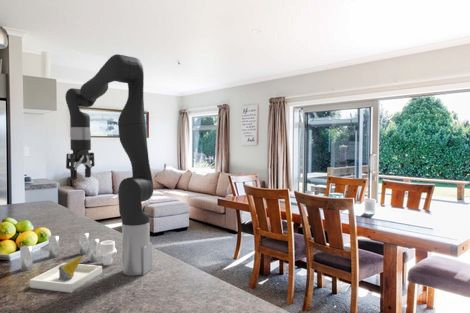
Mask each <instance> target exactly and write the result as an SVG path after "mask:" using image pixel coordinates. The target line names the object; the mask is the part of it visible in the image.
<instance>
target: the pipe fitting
mask: <svg viewBox="0 0 470 313" xmlns="http://www.w3.org/2000/svg"><path fill="white" fill-rule="evenodd" d="M115 246H116V242H115V241H114V240H112V239H111V240H103V241H101V242H99V251H98V256H99V257H102V264H103V266H108V265H109V266H111V265H112V264H113V256H114V255H117V254H118V253H117V252H118V251H117V248H116V247H115Z"/></svg>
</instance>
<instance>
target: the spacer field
mask: <svg viewBox="0 0 470 313" xmlns="http://www.w3.org/2000/svg"><path fill="white" fill-rule="evenodd" d="M89 233H90V232H81V233H79V234H78V248H79V249H78V252H79V255H80V256H84V255H88V256H89V257H88V258H89V259H88V261H89V262H90V263H95V262H96V263H97V262H98V261H100V259H101V258H100V257H101V256H98V251H99V250H100V238H98V237H96V238H93V237H92V238H90V237H89V236H90V234H89ZM19 251H20V253H19V254H20V256H19V257H20V271H21V272H27V271H31V270H33V268H34V267H33V266H34V265H33V263H34V262H33V259H34V258H33V245H31V244H30V245H29V244H28V245H21V246H20V248H19ZM59 257H60V235H58V234H57V235H50V236H48V258H49V259H56V258H59Z"/></svg>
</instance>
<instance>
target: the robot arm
mask: <svg viewBox="0 0 470 313" xmlns="http://www.w3.org/2000/svg"><path fill="white" fill-rule="evenodd" d="M144 78H145V76H144V67H143V63H142V61H141V60H140V59H139V58H137V57H134V56H130V55H129V56H127V55H124V54H117V53H116V54H114V55H111V56H110V57H109V58H108V59H107V61H106V62H105V63H104V64H103V65H102V67H101V68H100V69H99V70H98V71H97V73H96V74H95V75H94V76H93V77H92V78H91V79H88V81H86V82H85V83H83V84H82V85H81V87H80V88H72V87H71V88H69V89H67V90H66V92H65V96H64V97H65V102H66V105H67V108H68V112H69V115H70V137H69V138H70V142H69V143H70V144H69V145H70V151H72V153H66V157H65V158H66V160H65V161H66V164H65V168H66V169H68V170H69V171H70V180H74V181H76V180H77V179H78V170H77V169H78V168H79V166H81V164H82V165H83V167H84V177H85V178H91V176H92V168H93V167H95V152H89V151H91V150H92V142H91V141H92V140H91V139H92V136H91V120H90V119H91V118H90V117H91V116H90V115H89V114H88V113H86V112H83V111H81V110H80V108H91V107H93V105H94V104H95V103H96V102H97V99H99V98H101V97H102V96H103V95H104V94H106V93H107V91H108V90H109V84H110V83H112V82H118V83H123V84H127V87H128V88H127V91H128V95H127V99H126V102H125V104H124V106H123V109H122V110H121V112H120V115H119V117H118V120H117V125H118V138H119V142H120V144H121V147H122V148H123V150H124V152H125V153H126V155H127V157H128V159H129V161H130V166H131V171H132V172H131V174H132V176H130V177H126V178H124V179H122V180H121V181H120V183H119V185H118V189H117V190H118V191H117V193H118V196H117V197H118V210H119V211H118V212H119V216H120V217H121V244H122V245H121V246H122V247H121V248H122V249H121V250H122V252H121V254H122V274H123V275H125V276H130V277H133V276H145V275H146V274H147V273H149V272H150V271H151V270H152V269H153V242H151V241H150V240H151V239H150V238H151V237H150V233H151V232H150V231H151V230H150V226H151V225H150V221H151V220H150V213H148V212H146V211H144V210H143V205H142V202H146V201H149V200H150V199H151V198H152V197H153V194H154V181H153V176H152V172H151V166H150V158H149V148H148V140H147V139H148V138H147V136H148V135H147V125H146V117H145V103H144V101H145V100H144V87H145V86H144Z"/></svg>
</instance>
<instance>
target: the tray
mask: <svg viewBox="0 0 470 313" xmlns="http://www.w3.org/2000/svg"><path fill="white" fill-rule="evenodd" d="M67 263H68V262H62V263H60V264H59V265H56V266H55V267H53V268H51V269H49V270H47V271H45V272H43V273H41V274H39V275H36V276H35V277H33V278H31V279H29V288H30V289H37V290H38V289H39V290H45V291H46V290H47V291H54V292H55V291H56V292H62V293H63V292H64V293H72V294H73V292H75V291H77V290H78V289H80V288H81V287H83V286H85V285H86V284H88V283H89V282H91V281H92V280H94V279H95V278H97V277H99V276H100V275H102V274H103V266H102V265H93V264H82V263H79V264H78V266H77V268H76V270H75V272H74V276H73V277H72V278H71V279H70V278H67V279H66V280H65V281H63V280H58V279H59V271H60V270H59V267H60V266H61V265H65V264H67Z"/></svg>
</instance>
